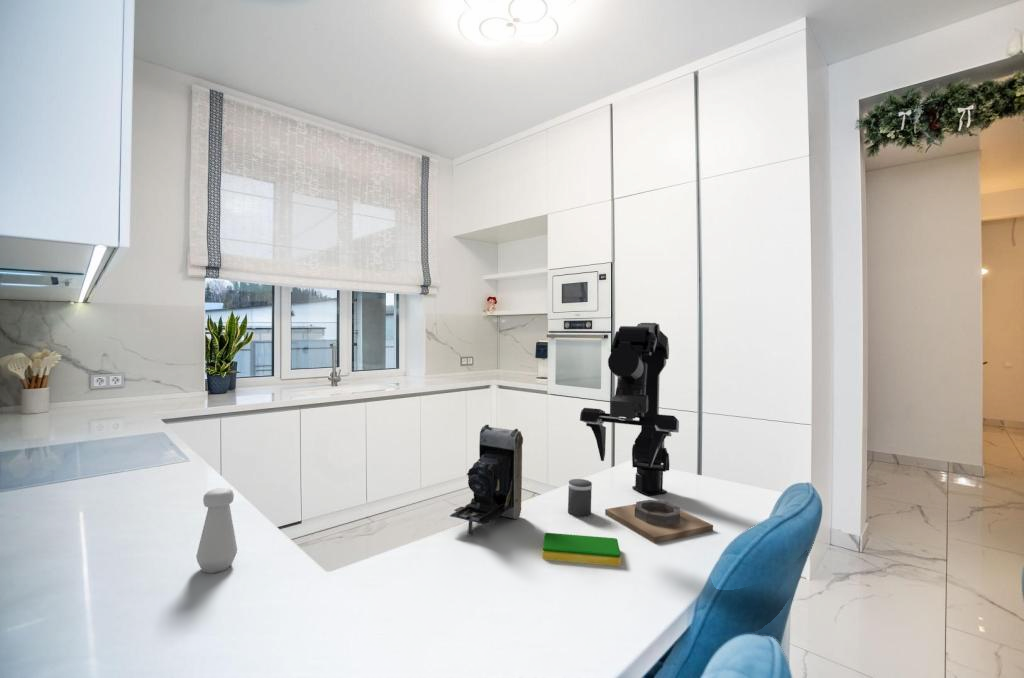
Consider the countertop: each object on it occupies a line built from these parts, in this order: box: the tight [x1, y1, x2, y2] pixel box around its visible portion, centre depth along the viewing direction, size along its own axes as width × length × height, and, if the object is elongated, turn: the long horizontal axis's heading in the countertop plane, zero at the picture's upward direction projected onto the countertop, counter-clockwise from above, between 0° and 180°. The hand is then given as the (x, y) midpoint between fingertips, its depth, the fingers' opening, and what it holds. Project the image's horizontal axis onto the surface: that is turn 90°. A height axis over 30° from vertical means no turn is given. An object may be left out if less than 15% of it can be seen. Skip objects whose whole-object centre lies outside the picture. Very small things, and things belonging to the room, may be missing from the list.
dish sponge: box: [541, 532, 621, 567], centre depth 87 cm, size 7×14×2 cm, turn 82°
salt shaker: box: [195, 487, 238, 574], centre depth 78 cm, size 6×6×13 cm
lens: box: [567, 478, 593, 518], centre depth 107 cm, size 5×5×7 cm
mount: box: [604, 499, 714, 544], centre depth 103 cm, size 16×16×3 cm
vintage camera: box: [449, 424, 524, 536], centre depth 99 cm, size 10×16×20 cm, turn 152°
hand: (625, 464), depth 92 cm, fingers open, 9 cm apart
